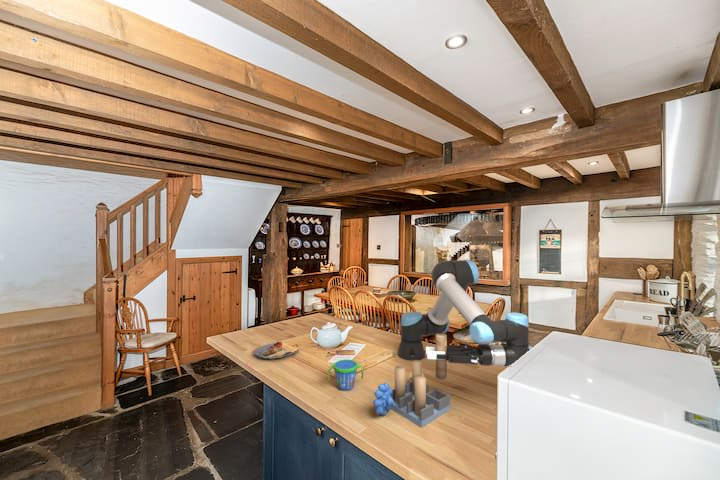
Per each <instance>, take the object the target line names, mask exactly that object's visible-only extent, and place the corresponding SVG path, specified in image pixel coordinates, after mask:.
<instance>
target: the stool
mask: <svg viewBox="0 0 720 480" xmlns="http://www.w3.org/2000/svg"><path fill="white" fill-rule="evenodd" d="M411 372H412V382H410V381H409V382H407V383H406V367H404V366H400V365H398V366H395V367H394V388H393V389H392V392H393V393H392V394H391V397H392V399H393V402H394V403H393V404H392V405H390V407H391V408H390V409H391V411H394V412H396V413H397V414H399V415H401V416H402V417H404V418H405V419H407V420H409V421H410V422H412V423H413V424H415V425H417V426H418V427H420V428H423V427H425V426H426V425H428V424H430V423H431V422H433V421H436V420H437V419H438V418H440V417H442V416H443V415H445V414H446V413H448V412H449V411H451V407H452V405H451V395H450V394H448V393H446V392H444V391H442V390H439V389H437V388H434V389H432V390H430V385H429V384H427V377H426V376H424V375H423V376H422V373H423V361H422V360H411Z"/></svg>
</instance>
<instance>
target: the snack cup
mask: <svg viewBox="0 0 720 480" xmlns="http://www.w3.org/2000/svg"><path fill="white" fill-rule="evenodd" d="M358 368H359V369H361V380H363V378H364V369H363V366H362V365H361V364H359V363H358V362H357V361H356V360H352V359H341V360H337V361H335V362H334V363H333V365H331V366H330V367H329V369H328V371H327V378H328V381H329V382H330V381H331V378H330V371H332V370H334V375H335V381H336V386H337V388H338V389H339V390H341V391H351V390H352V389H354V388H355V384H356V378H357V377H356V376H357V371H358Z"/></svg>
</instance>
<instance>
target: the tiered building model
mask: <svg viewBox="0 0 720 480" xmlns="http://www.w3.org/2000/svg"><path fill="white" fill-rule="evenodd" d="M424 375H425V374H424V373H423V372H422V376H424ZM409 382H412V371H411V372H410V373H409Z"/></svg>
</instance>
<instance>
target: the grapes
mask: <svg viewBox="0 0 720 480" xmlns="http://www.w3.org/2000/svg"><path fill="white" fill-rule="evenodd" d="M377 388H378V389H377V390H375V392H374V393H373V394H374V397H375V399H374V400H373V406H374V407H375V409H374V411H375V412H376V414H377V415H380V416H382V417H383V416H386V414H387V413H388V412H389V411H390V409H391V407H390V405H392V404H393V403H394V402H393V399H392V397H391V394H392V393H393V392H392V390H393V389H392V388H391V387H390V385H389V383H388V382H384V383H380V384H379V385H378V386H377Z"/></svg>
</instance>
